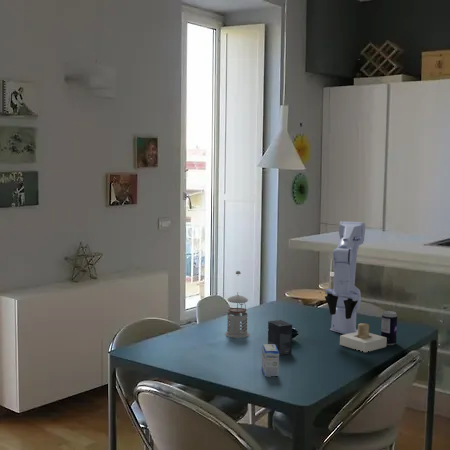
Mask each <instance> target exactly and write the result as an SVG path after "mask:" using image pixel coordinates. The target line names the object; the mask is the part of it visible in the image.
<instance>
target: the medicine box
mask: <svg viewBox="0 0 450 450" xmlns="http://www.w3.org/2000/svg"><path fill="white" fill-rule="evenodd" d="M261 351H262V353H261V355H262V356H261V370H262V374H263V375H264V377H265V376H267V377H266V378H272V377H271V376H278V377H279V368H280V364H279V363H280V355H279V351H278V349H277V347H276V345H275V344H268V343H264V344H262V348H261Z"/></svg>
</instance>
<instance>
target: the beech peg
mask: <svg viewBox="0 0 450 450" xmlns="http://www.w3.org/2000/svg"><path fill="white" fill-rule="evenodd" d="M357 330H358V338H361V339H368V338H369V333H370V324H369V323H363V322H362V323H358V324H357Z"/></svg>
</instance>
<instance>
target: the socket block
mask: <svg viewBox="0 0 450 450" xmlns="http://www.w3.org/2000/svg"><path fill="white" fill-rule="evenodd" d="M386 343H387V338H386V337H383V336H381V335H378V334H374V333H371V332H369V338H368V339H361V338H358V332H353V333H349V334H342V335H341V334H340V336H339V346H342V347H343V346H344V347H346V348H349V349H353V350H355V349H356V351H358V350H360V351H359V352H362V351H363V352H362V353H368V351H369V352H373V351H377V350H379V349H380V350H381V349H383V348H387V345H386Z"/></svg>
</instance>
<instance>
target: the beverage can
mask: <svg viewBox="0 0 450 450" xmlns="http://www.w3.org/2000/svg"><path fill="white" fill-rule="evenodd" d="M380 325H381V327H380V328H381V329H380V336H383V337H386V338H387V343H386V346H394V345H395V344H396V343H397V335H398V334H397V333H398V332H397V331H398V315H397V312H396V311H393V310H384V311H382V314H381V324H380Z"/></svg>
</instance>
